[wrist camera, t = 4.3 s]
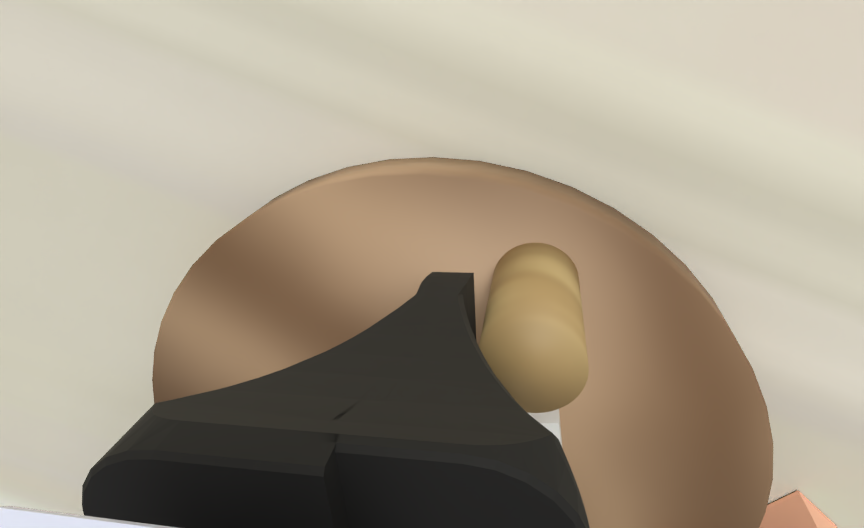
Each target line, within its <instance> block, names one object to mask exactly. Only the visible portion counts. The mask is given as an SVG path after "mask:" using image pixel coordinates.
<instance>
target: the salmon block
mask: <svg viewBox="0 0 864 528" xmlns="http://www.w3.org/2000/svg"><path fill="white" fill-rule="evenodd" d="M759 528H837V526H836V525H835V524H834V523H833V522H832V521H831V520H830V519H828V518H827V517H826V516H825V515H824V514H823V513H822V512H821V511H820V510H819V509H818V508H817V507H816V506H814V505H813V504H812V503H811V502H810V501H809V500H808V499H807V498H806V497H805V496H804V495H803V494H802V493H800V492H799V491H796V492H794V493H791V494H789V495H787V496H785V497H783V498H781V499H779V500H777V501H775V502H773V503H771V504H768V505H767V508H766V512H765V515H764V517H763V520H762V522H761V524H760V527H759Z"/></svg>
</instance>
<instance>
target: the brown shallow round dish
mask: <svg viewBox="0 0 864 528" xmlns="http://www.w3.org/2000/svg"><path fill="white" fill-rule="evenodd" d="M432 272H462V273H474V293H475V317H476V341H477V344H478V346H479V348H480V350H481V352H482V354H483V356H484V357H485V359H486V361H487V363H488V364H489V366H490V368H491V369H492V371H493V372H494V374H495V375H496V377H497V378H498V379H499V381H500V382H501V383H502V384H503V386H504V387H505V388H506V389H507V391H508V392H509V393H510V394H511V396H512V397H513V398H514V399H515V401H516V402H517V403H518V404H519V405H520V406H521V407H522V408H523V409H524V410H525V411H526V412H527V413H528V414H529V415H530V416H532V417H533V418H534V419H535V420H537V421H538V422H539V423H540V424H542V425H543V426H544V427H545V428H547V429H548V430H549V431H551V432H552V433H553V434H554V435H555V436H556V437H557V438H558V439H559V441H560V444H561V446H562V448H563V451H564V453H565V455H566V458H567V460H568V462H569V465H570V467H571V470H572V472H573V475H574V478H575V480H576V483H577V486H578V488H579V491H580V494H581V497H582V500H583V503H584V507H585V511H586V514H587V518H588V522H589V527H590V528H759V527H760V524H761V522H762V520H763V517H764V515H765V512H766V508H767V503H768V498H769V494H770V489H771V484H772V480H773V440H772V434H771V429H770V423H769V417H768V411H767V406H766V403H765V401H764V398H763V395H762V393H761V390H760V387H759V385H758V382H757V379H756V376H755V374H754V371H753V369H752V367H751V365H750V363H749V361H748V360H747V358H746V356H745V354H744V352H743V351H742V349H741V347H740V345H739V344H738V342H737V340H736V338H735V336H734V335H733V333H732V331H731V329H730V328H729V326H728V324H727V322H726V321H725V319H724V317H723V316H722V314H721V312H720V310H719V309H718V307H717V305H716V303H715V302H714V300H713V298H712V297H711V296H710V294H709V293H708V292H707V291H706V290H705V288H704V287H703V286H702V285H701V283H700V282H699V281H698V280H697V278H696V277H695V276H694V275H693V274H692V272H691V271H690V270H689V269H688V267H687V266H686V265H685V264H684V263H683V262H682V261H681V260H680V259H678V258H677V257H676V256H675V255H674V254H673V253H672V252H671V251H670V250H669V249H668V248H666V247H665V246H664V245H663V244H662V243H661V242H660V241H659V240H658V239H657V238H656V237H654V236H653V235H652V234H651V233H649V232H648V231H646V230H645V229H643V228H642V227H641V226H639V225H638V224H636V223H635V222H633V221H632V220H630V219H629V218H627V217H626V216H625V215H623V214H622V213H620V212H619V211H617V210H616V209H614V208H612V207H610V206H608V205H606V204H604V203H602V202H601V201H599V200H597V199H595V198H593V197H591V196H589V195H587V194H585V193H583V192H581V191H579V190H577V189H575V188H573V187H570V186H568V185H565V184H562V183H559V182H556V181H553V180H551V179H548V178H545V177H542V176H539V175H536V174H534V173H531V172H528V171H524V170H519V169H515V168H510V167H505V166H501V165H496V164H491V163H487V162H482V161H473V160H460V159H448V158H436V157H429V158H409V159H389V160H384V161H378V162H373V163H368V164H362V165H357V166H352V167H347V168H344V169H341V170H338V171H335V172H332V173H329V174H326V175H323V176H320V177H317V178H314V179H311V180H308V181H307V182H305V183H303V184H301V185H299V186H297V187H295V188H293V189H291V190H289V191H287V192H285V193H283V194H281V195H280V196H278V197H276V198H274V199H273V200H271V201H270V202H268V203H267V204H266V205H264V206H263V207H261V208H260V209H259V210H257V211H256V212H254V213H253V214H252V215H250V216H249V217H247V218H246V219H245V220H243V221H242V222H241V223H239V224H238V225H236V226H235V227H234V228H232V229H231V230H230V231H228V232H227V233H226V234H224V235H223V236H222V237H220V238H219V239H218V240H216V241H215V242H214V243H213V244H212V245H211V247H210V248H209V249H208V250H207V251H206V252H205V253H204V254H203V255H202V256H201V257H200V258H199V259H198V260H197V261H196V262H195V263H194V264H193V265H192V267H191V268H190V270H189V271H188V273H187V274H186V276H185V277H184V279H183V280H182V282H181V283H180V285H179V286H178V288H177V289H176V291H175V292H174V294H173V296H172V299H171V301H170V303H169V306H168V308H167V310H166V312H165V315H164V317H163V319H162V322H161V326H160V330H159V334H158V338H157V342H156V346H155V351H154V365H153V379H152V381H153V393H154V404H155V403H158V402H163V401H168V400H173V399H177V398H182V397H186V396H191V395H195V394H199V393H204V392H208V391H213V390H217V389H221V388H225V387H228V386H232V385H236V384H239V383H242V382H246V381H249V380H252V379H256V378H259V377H262V376H265V375H268V374H270V373H273V372H276V371H279V370H282V369H285V368H287V367H290V366H292V365H294V364H297V363H299V362H302V361H304V360H306V359H309V358H311V357H313V356H316V355H318V354H321V353H323V352H325V351H327V350H329V349H331V348H333V347H335V346H337V345H339V344H341V343H343V342H345V341H347V340H349V339H351V338H352V337H354V336H356V335H358V334H359V333H361V332H363V331H364V330H366V329H368V328H369V327H371V326H372V325H374V324H375V323H377V322H378V321H380V320H381V319H383V318H384V317H386V316H387V315H389V314H390V313H392V312H393V311H395V310H396V309H397V308H399V307H400V306H402V305H403V304H404V303H405V302H407V301H408V300H409V299H411V298H412V297H413V296H415V295H416V293H417V291H418V289H419V286H420V284H421V282H422V281H423V280H424V279H425V278H426V277H427V276H428V275H429V274H430V273H432Z"/></svg>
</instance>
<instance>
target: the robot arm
mask: <svg viewBox="0 0 864 528" xmlns="http://www.w3.org/2000/svg"><path fill="white" fill-rule="evenodd" d="M82 507H83V512H84V515H85V516H84V515H76V514H68V513H60V512H52V511H44V510H37V509H29V508H21V507H13V506H3V507H0V528H590V527H589V522H588V518H587V514H586V511H585V507H584V503H583V500H582V497H581V494H580V491H579V488H578V486H577V483H576V480H575V478H574V475H573V472H572V470H571V467H570V465H569V462H568V460H567V458H566V455H565V453H564V451H563V448H562V446H561V444H560V441H559V439H558V438H557V437H556V436H555V435H554V434H553V433H552V432H551V431H549V430H548V429H547V428H545V427H544V426H543V425H542V424H540V423H539V422H538V421H537V420H535V419H534V418H533V417H532V416H530V415H529V414H528V413H527V412H526V411H525V410H524V409H523V408H522V407H521V406H520V405H519V404H518V403H517V402H516V401H515V399H514V398H513V397H512V396H511V394H510V393H509V392H508V391H507V389H506V388H505V387H504V386H503V384H502V383H501V382H500V381H499V379H498V378H497V377H496V375H495V374H494V372H493V371H492V369H491V368H490V366H489V364H488V363H487V361H486V359H485V357H484V356H483V354H482V352H481V350H480V348H479V346H478V344H477V341H476V317H475V293H474V273H462V272H432V273H430V274H429V275H428V276H427V277H426V278H425V279H424V280H423V281H422V282H421V284H420V286H419V289H418V291H417V293H416V295H415V296H413V297H412V298H411V299H409V300H408V301H407V302H405V303H404V304H403V305H402V306H400V307H399V308H397V309H396V310H395V311H393V312H392V313H390V314H389V315H387V316H386V317H384V318H383V319H381V320H380V321H378V322H377V323H375V324H374V325H372V326H371V327H369V328H368V329H366V330H364V331H363V332H361V333H359V334H358V335H356V336H354V337H352V338H351V339H349V340H347V341H345V342H343V343H341V344H339V345H337V346H335V347H333V348H331V349H329V350H327V351H325V352H323V353H321V354H318V355H316V356H313V357H311V358H309V359H306V360H304V361H302V362H299V363H297V364H294V365H292V366H290V367H287V368H285V369H282V370H279V371H276V372H273V373H270V374H268V375H265V376H262V377H259V378H256V379H252V380H249V381H246V382H242V383H239V384H236V385H232V386H228V387H225V388H221V389H217V390H213V391H208V392H204V393H199V394H195V395H191V396H186V397H182V398H177V399H173V400H168V401H163V402H158V403H155V404H154V405H153V406H152V407H151V408H150V409H149V410H148V411H147V412H146V413H145V414H144V415H143V416H142V417H141V418H140V419H139V420H138V421H137V422H136V423H135V424H134V425H133V427H132V428H131V429H130V430H129V431H128V432H127V433H126V434H125V435H124V436H123V437H122V438H121V439H120V440H119V441H118V442H117V443H116V444H115V445H114V446H113V447H112V448H111V449H110V450H109V451H108V452H107V453H106V454H105V455H104V456H103V457H102V458H101V459H100V460H99V461H98V462H97V463H96V464H95V465H94V466H93V467H92V468H91V469H90V471H89V474H88V476H87V478H86V480H85V482H84V484H83V491H82Z"/></svg>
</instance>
